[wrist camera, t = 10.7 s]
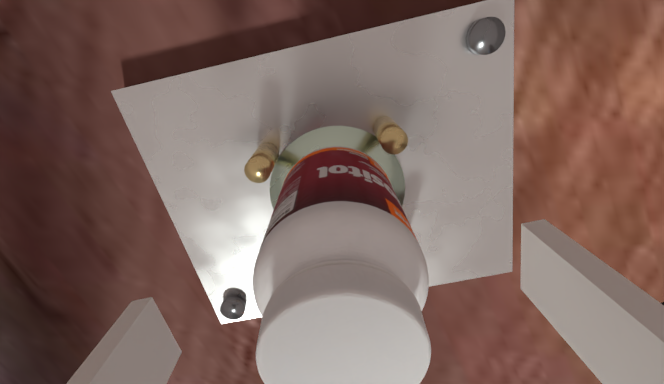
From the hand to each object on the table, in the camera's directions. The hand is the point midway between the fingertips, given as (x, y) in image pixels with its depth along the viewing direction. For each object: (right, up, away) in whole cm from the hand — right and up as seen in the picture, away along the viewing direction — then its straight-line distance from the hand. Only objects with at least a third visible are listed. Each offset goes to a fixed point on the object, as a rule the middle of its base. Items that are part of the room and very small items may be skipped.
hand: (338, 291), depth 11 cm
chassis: (0, +4, +8) cm, 9 cm away
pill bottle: (0, +4, +7) cm, 8 cm away
